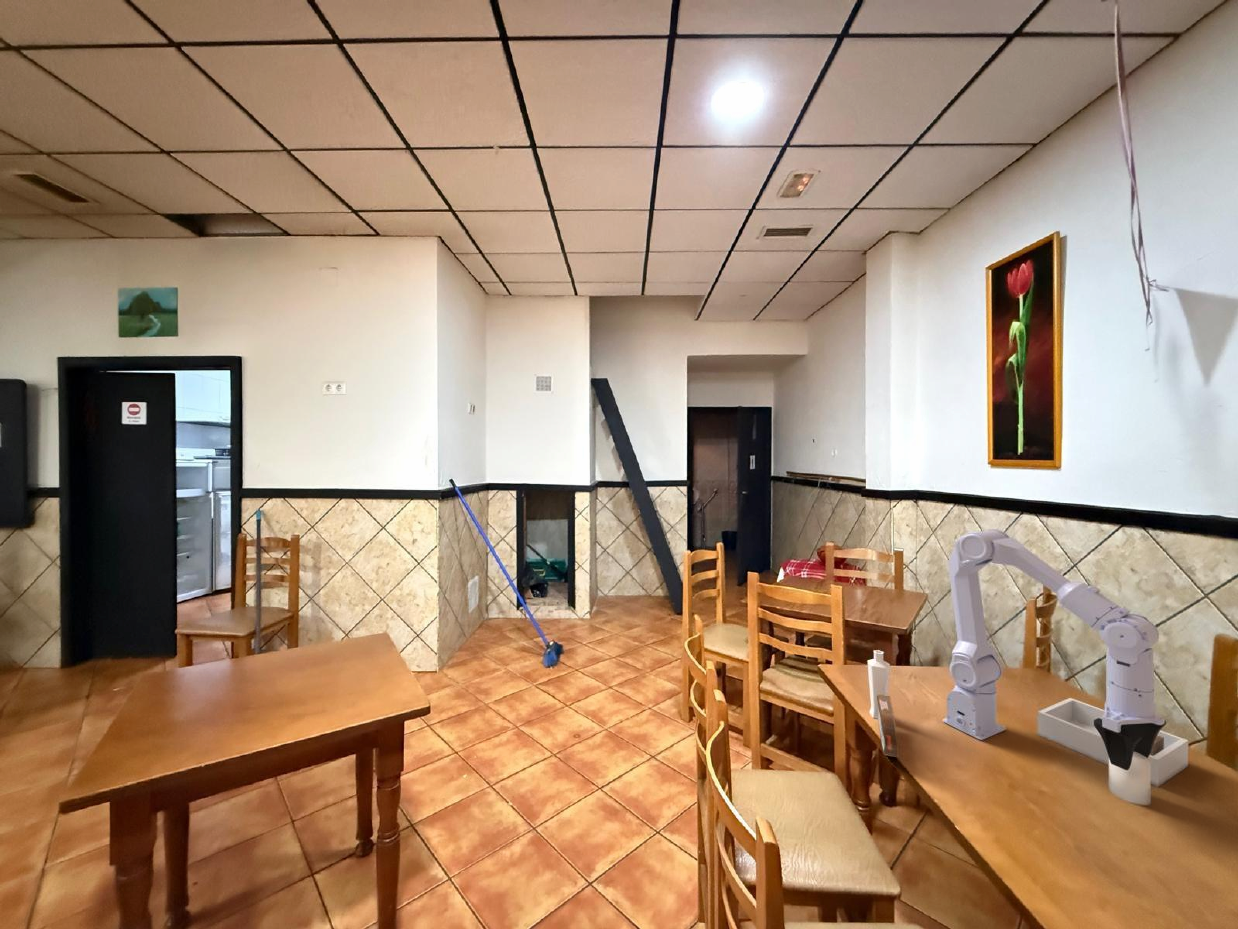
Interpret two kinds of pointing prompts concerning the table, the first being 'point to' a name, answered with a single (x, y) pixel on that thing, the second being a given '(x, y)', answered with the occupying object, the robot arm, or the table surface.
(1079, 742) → the tote
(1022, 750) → the table surface
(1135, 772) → the ceramic cylinder
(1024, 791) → the table surface
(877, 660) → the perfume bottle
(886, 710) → the tin
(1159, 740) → the walnut cube
